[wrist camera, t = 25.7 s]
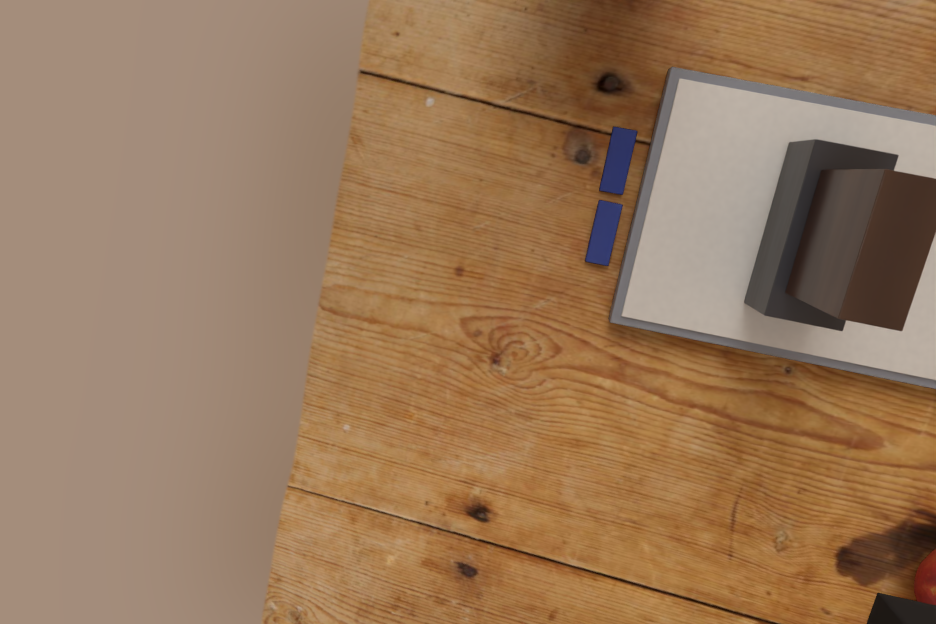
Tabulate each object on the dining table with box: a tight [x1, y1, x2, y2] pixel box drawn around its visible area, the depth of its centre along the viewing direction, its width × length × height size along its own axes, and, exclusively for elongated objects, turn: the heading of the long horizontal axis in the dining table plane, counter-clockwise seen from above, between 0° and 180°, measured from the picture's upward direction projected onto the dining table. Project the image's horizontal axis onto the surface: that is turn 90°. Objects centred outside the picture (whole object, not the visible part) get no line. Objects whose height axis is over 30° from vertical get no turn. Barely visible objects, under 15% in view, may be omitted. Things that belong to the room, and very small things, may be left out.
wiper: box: [744, 139, 936, 331], centre depth 37 cm, size 4×10×11 cm, turn 169°
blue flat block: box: [599, 127, 637, 195], centre depth 44 cm, size 4×2×1 cm, turn 169°
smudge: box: [585, 200, 623, 266], centre depth 44 cm, size 4×2×1 cm, turn 169°
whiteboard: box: [608, 67, 936, 389], centre depth 43 cm, size 24×16×1 cm, turn 79°
